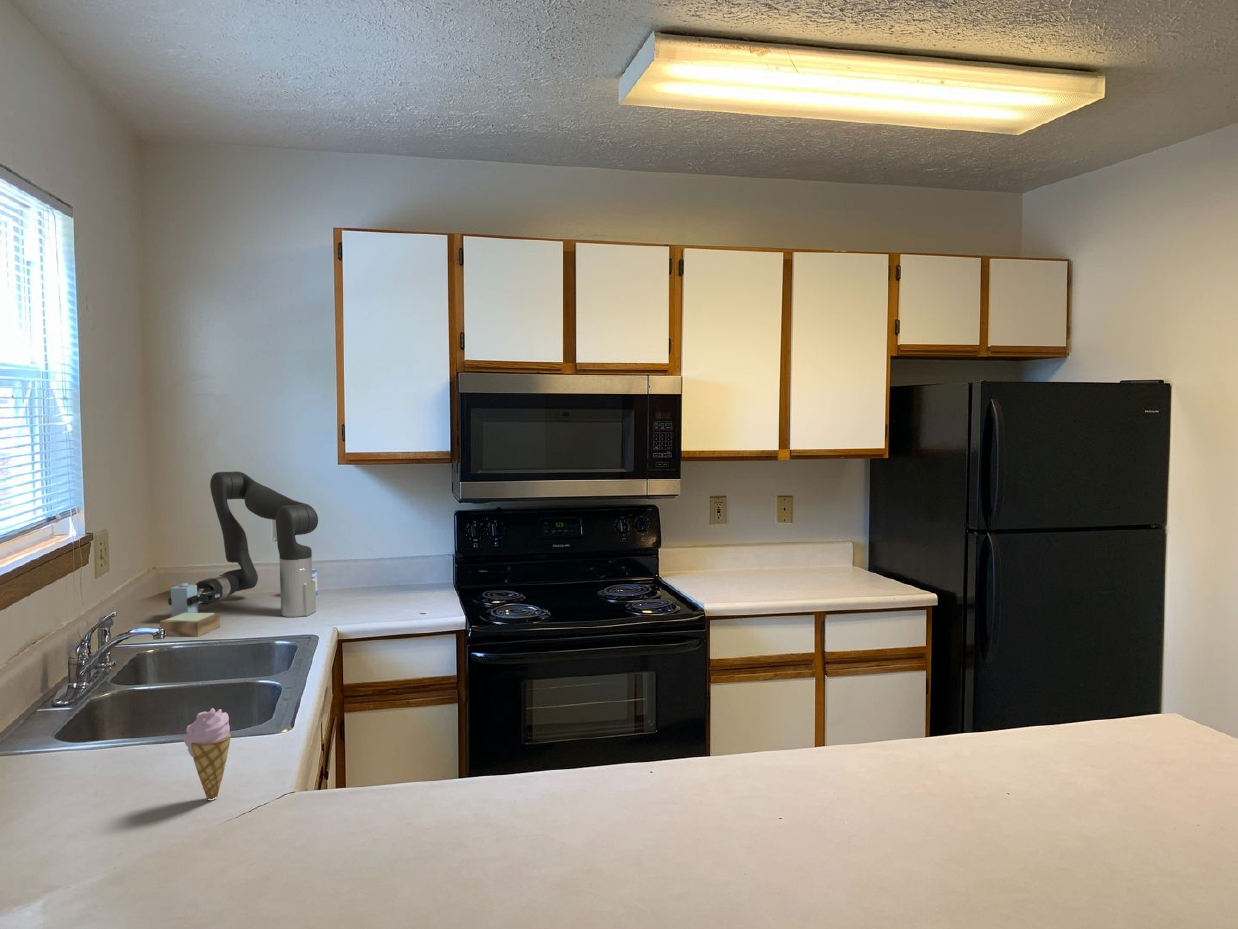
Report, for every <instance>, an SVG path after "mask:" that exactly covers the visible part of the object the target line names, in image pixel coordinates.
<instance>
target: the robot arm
mask: <svg viewBox="0 0 1238 929" xmlns="http://www.w3.org/2000/svg"><path fill="white" fill-rule="evenodd" d="M209 484H210V486H209V487H210V494H211V497H212V501H213V505H214V508H215V512H216V515H217V518H218V521H219V525H220V528H221V533H222V537H223V538H222V539H223V546H224V553H225V559H226V562H228V563H233V564H234V563H236V564H238V566H239V567H240V568H237V569H233V570H228V571H227V572H224V573H223V574H220V575H215V576H212V577H208V578H205V579H202V580H200V581H198V582H196V583H195V584H194V585H197V594H196V596H192V597H189V598H187V605H189V606H190V605H193V604H195V603H198V605H202V606H203V605H204V606H207V605H211V604H213V603H216V602H218V601H221V600H223V599H224V598H226V597H229V596H232V595H233V594H234V593H236V592H240V591H245V590H251V589H254V588H255V586H257V584H258V581H259V580H258V579H259V576H258V573H257V572H258V571H257V570H256V568H255V567H256V566H254V563H253V561H252V558H251V555H250V551H249V546H248V538H247V537H248V536H247V535H246V534H247V533H246V532H245V530H244V528H243V527H242V524H240V523H239V521H238V520H237V519H236V517H235V516H234V515H233V513H232V510H231V509H230V506H229V504H228V500H244V505H245V507H246V509H247V510H249V511H250V512H251V513H252V514H254V515H255V516H258V517H260V518H264V519H267V520H274V521H275V528H276V542H277V550H278V555H279V558H278V559H279V586H280V587H279V588H280V590H279V592H280V593H279V594H280V615H281V616H283V617H288V618H295V617H296V618H298V617H308V616H310V615H312V614H313V613H316V612H317V604H316V603H317V602H316V600H317V599H316V597H317V595H316V593H315V581H312V569H313V551H312V548H311V547H310V546H307V545H303V544H300V543H298V542H297V540H296V536H301V535H307V534H310V533H312V532H314V531H315V530H316V529H317V527H318V524H319V517H318V513H317V512H316V510H315V509H314V507H312V506H311V505H310V504H308V503H305V502H301V501H298V500H295V499H292V498H290V497H287V496H286V495H283V494H281V493H279V492H278V491H276V490H274V489H271V487H268V486H265V485H263V484H261V483H259V482H257V481H255V480H254V479H253V478H252V477H251V476H249V475H248V474H246V473H245V472H242V471H217V472H214V473H213V474H212V476H211V477H210V482H209ZM167 601H168V605H169V606H171V596H170V597H169V598H168V600H167Z"/></svg>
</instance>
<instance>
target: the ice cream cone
mask: <svg viewBox="0 0 1238 929" xmlns="http://www.w3.org/2000/svg"><path fill="white" fill-rule="evenodd" d="M195 717H196V719H195V720H194V721H193V722H192V723H191V724H188V725H187V726H186V733H185V734H184V736H183V742H184V744H185V746H186V747H187V752H188V753H189V756H191V757H192V758H193V762H194V766H195V769H196V772H197V774H198V777H199V780H200V784H201V786H202V789H203V791H204V794H205V797H206V799H213V798H215V797H217V798H218V795H219V792H220V789H221V784H222V781H223V776H224V773H225V772H224V771H225V768H226V763H227V760H228V759H227V758H228V754H229V748H230V742H231V735H232V734H231V733H230V730H231V728H230V727H231V726H230V723H229V721H230V718H229V714H228V713H227V712H226V711H225V712H223V710H222V709H220V708H219V709H218V710H215V708H214V707H212V708H210V710H209V711H202V712H198V713H197V715H196V716H195Z"/></svg>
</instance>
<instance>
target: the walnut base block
mask: <svg viewBox="0 0 1238 929" xmlns="http://www.w3.org/2000/svg"><path fill="white" fill-rule="evenodd" d="M160 627H161V628H163V629H164V630H165V631H166V636H165V637H193V638H195V637H196V638H199V637H200V636H203V635H205V634H207V633H210V632H212V631H214V630H217V629H219V628H220V627H221V614H220V612H198V613H193V612H183V613H180V614H178V615H175V616H173V617H172V616H170V617H168V618H164V619H162V620H160V621H159V628H160Z"/></svg>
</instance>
